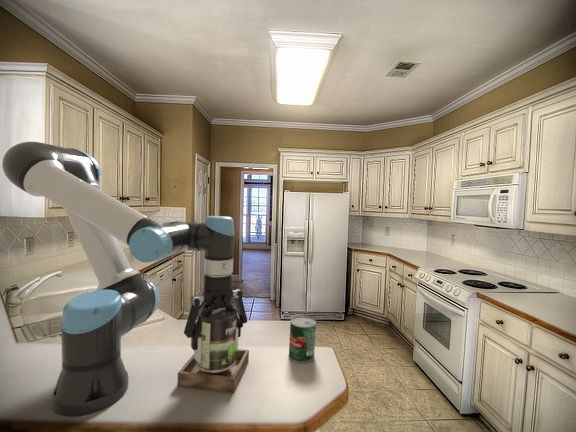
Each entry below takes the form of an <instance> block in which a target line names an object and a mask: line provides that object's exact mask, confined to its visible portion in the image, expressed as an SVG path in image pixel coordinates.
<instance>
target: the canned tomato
mask: <svg viewBox="0 0 576 432" xmlns="http://www.w3.org/2000/svg"><path fill="white" fill-rule="evenodd" d="M316 326H317V321H316V320H315V319H314V318H311V317H309V316H295V317H293V318H291V319H290V325H289V327H290V328H289V343H288V344H289V347H288V358H289V359H290V360H291V361H293V362H295V363H298V364H299V363H301V364H306V363H307V364H308V363H311V362H312V361H313V360H314V358H315V348H316V347H315V345H316V331H317V330H316V329H317V327H316Z"/></svg>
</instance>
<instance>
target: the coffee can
mask: <svg viewBox="0 0 576 432" xmlns="http://www.w3.org/2000/svg"><path fill="white" fill-rule="evenodd" d="M208 308H209V307H208ZM233 309H234V311H231V312H229V311H228V310H227V309H226V308H219V309H217V310H213V312H212V313H211V314H210V315H209V316H208V317H204V316H202V315H201V312H202V310H203V308H200V309H199V313H198V316H197V319H198V318H199V320H200V321H202V331H201V333H200V335H199V336H200V337H201V362H200V363H198V362H197V366H198V368H199V369H200V370H202V371H204V372H208V373H219V372H223V371H226V370H228V369H230V368H232V367H233V366H234V364H235V349H236V319H237V316H238V311H237V308H234V307H233Z"/></svg>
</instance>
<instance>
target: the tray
mask: <svg viewBox="0 0 576 432" xmlns="http://www.w3.org/2000/svg"><path fill="white" fill-rule="evenodd" d="M249 353H250V349H243V348H238V351H235V364H234V366H233V367H232V368H230V369H228V370H226V371H223V372H219V373H208V372H204V371H202V370H200V369H199V368H198V366H197V361H196V360H195V359H194V353H193V354H192V355H191V357H190V358H189V359H188V360H187V361H186V362H185V363H184V365H183V366H182V368H181V369H179V371H178V372H177V387H180V388H188V389H189V388H190V389H198V390H204V391H213V392H223V393H230V394H234V393H235V392H236V390H237V388H238V385H239V383H240V380H241V379H242V376H243V375H244V371H246V368H247V365H248V364H249V358H250V354H249Z"/></svg>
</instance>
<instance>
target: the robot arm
mask: <svg viewBox="0 0 576 432" xmlns="http://www.w3.org/2000/svg"><path fill="white" fill-rule="evenodd" d="M1 167H2V171H3V172H4V175H5V176H6V178H7V180H9V182H10V183H11V184H13V185H15V187H17V188H18V189H20V190H22V191H23V192H25V193H27V194H29V195H30V196H32V197H37V198H38V197H42V198H45V199H46V200H49V201H51V202H52V203H54V204H56V205H58V206H59V207H60V208H63V209H64V212H65V214H66V215H67V218H68V220H69V222H70V224H71V225H72V228H73V230H74V232H75V235H76V237H77V240H78V242H79V243H80V245H81V247H82V249H83V252H84V254H85V256H86V259H87V260H88V262H89V264H90V267H91V269H92V270H93V273H94V275H95V278H96V279H97V281H98V285H97V288H96V290H92V291H91V292H90V291H89V292H84V293H82V294H79V295H76V296H75V297H72V298H71V299H69V301H68V302H66V304H65V305H64V306H63V308H62V317H61V321H60V327H61V370H60V374H59V376H58V379H57V381H56V384H55V388H54V389H53V391H52V392H53V393H52V397H51V399H52V400H51V402H52V404H51V405H52V406H51V407H52V409H53V411H54V412H55V413H57V414H58V415H59V414H60V415H63V416H73V417H75V416H81V415H87V414H92V413H95V412H97V411H101V410H102V409H106V408H107V407H109V406H111V405H113V404H114V403H116V402H117V401H118V400H120V399H121V398H122V397H123V396H124V395H125V394H126V392H127V390H128V389H129V388H128V387H129V374H128V372H127V370H126V368H125V365H124V361H123V359H122V354H121V352H122V350H121V349H122V337H123V336H125V335H126V334H127V333H130V331H132V330H133V329H135V328H136V327H138V326H139V325H141V324H144V323H145V322H147V320H149V318H150V317H152V316H153V315H154V313H156V311H157V310H158V306H159V303H160V293H159V291H158V288H157V286H156V285H155V284H154V283H153V282H152V281H149V280H148V279H145V278H143V276H142V274H141V272H140V271H139V270H136V269H133V268H132V266H131V264H130V263H129V261H128V258H127V256H126V254H125V251H124V249H123V247H122V245H121V243H120V242H122V243H124V244H125V245H128V246H129V247H128V248H129V251H130V253H131V255H132V256H133V258H134V259H136V260H137V261H140V262H142V263H152V262H158V261H161V260H164V259H165V258H167V257H170V256H174V255H177V254H179V253H182V252H184V251H195V252H196V251H198V252H204V265H203V268H204V270H203V273H204V276H203V293H202V295H201V296H194V295H193V296H192V297H191V306H190V310H189V314H188V317H187V321H186V324H185V327H184V330H183V334H184V335H185V336H186V337H187V339H190V347H191V349H192V350H193V351H194V352H193V354H194V359H195V360H196V361H197V362H198V363H200V362H201V337H200V336H199V335H200V333H201V331H202V321H200V320H199V318H198V313H199V311H200V310H201V308H200V307H201V305H202V303H203V302H204V304H203V307H202V309H203V310H202V312H201V315H202V316H204V317H208V316H209V315H210V314H211V313H212V312H213V310H217V309H219V308H226V309H227V310H228V311H229V312H231V311H234V309H233V308H234V307H233V305H232V302H231V299H232V298H233V300H234V302H235V306H236V310H237V319H236V349H235V351H238V349H239V338H241V335H242V334H241V332H242V330H241V329H242V328H243V327H244V324H247V323H248V319H247V318H248V317H247V314H246V309H245V306H244V301H243V294H244V293H243V291H242V290H241V289H239V288H235V289H233V285H234V284H233V282H234V280H233V279H234V275H233V272H234V246H235V242H234V241H235V223H234V218H233V217H231V216H227V215H225V216H223V215H207V216H206V217H205V221H204V222H187V221H180V220H175V221H165V222H162V223H159V222H156V221H155V220H153V219H152V218H150V217H148V216H146V215H144V214H143V213H141V212H139V211H138V210H136V209H134V208H133V207H130V206H129V205H127V204H125V203H123V202H122V201H120V200H118V199H117V198H114V197H113V196H111V195H110V194H107V193H106V192H104V191H102V190H101V189H100V188H101V187H100V184H99V183H100V182H101V178H100V177H101V176H102V172H101V167H100V165H99V163H98V161H97V160H96V159H95V158H94V157H93V156H92V155H91V154H89V153H87V152H85V151H82V150H80V149H77V148H73V147H72V148H70V147H62V146H58V145H54V144H50V143H46V142H45V143H44V142H40V141H25V142H24V141H23V142H19V143H17V144H15V145H13V146H11V147H10V148H9V149H8V150H6V152H5V154H4V155H3V158H2V165H1ZM208 307H209V308H208Z"/></svg>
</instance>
